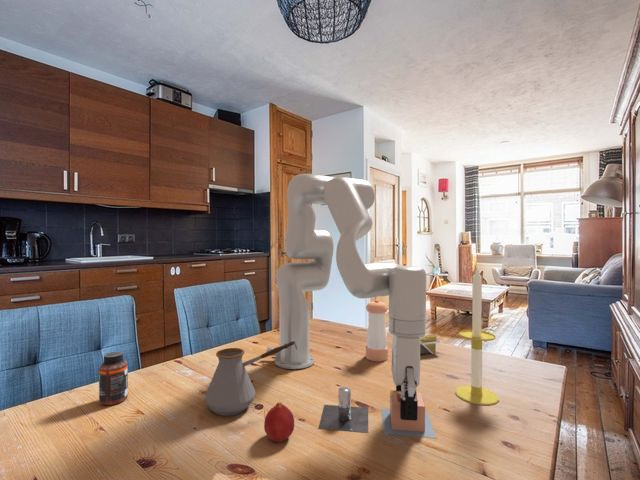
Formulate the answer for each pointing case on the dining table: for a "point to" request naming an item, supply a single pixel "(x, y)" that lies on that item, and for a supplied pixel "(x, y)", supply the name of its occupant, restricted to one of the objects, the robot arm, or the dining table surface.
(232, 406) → the coffee pot
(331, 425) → the stand
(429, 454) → the dining table surface
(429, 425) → the blue peg base
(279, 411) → the onion
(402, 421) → the collar
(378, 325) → the salt shaker
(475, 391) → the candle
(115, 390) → the supplement bottle
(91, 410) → the dining table surface
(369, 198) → the robot arm
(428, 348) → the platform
